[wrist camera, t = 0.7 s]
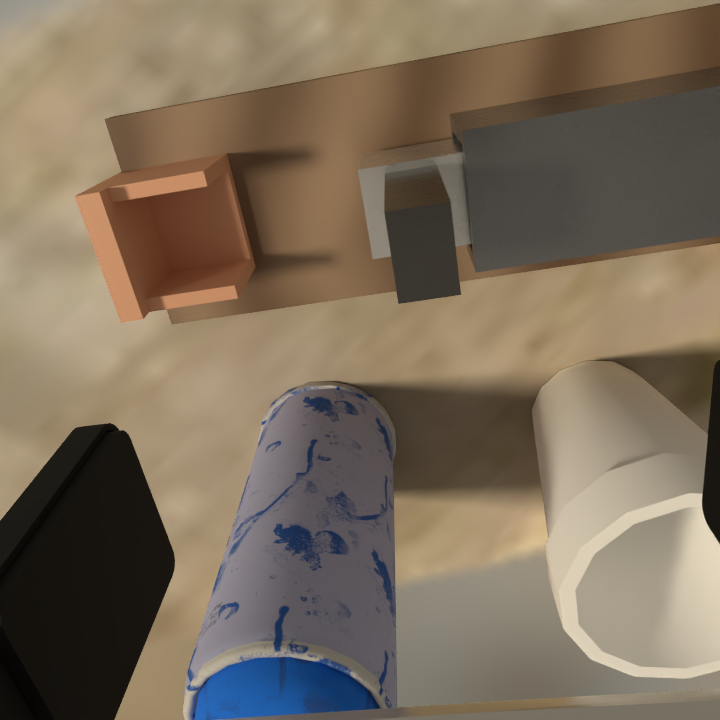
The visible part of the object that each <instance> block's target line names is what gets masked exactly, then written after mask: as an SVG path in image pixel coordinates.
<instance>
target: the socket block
mask: <svg viewBox="0 0 720 720" xmlns="http://www.w3.org/2000/svg"><path fill="white" fill-rule="evenodd" d="M75 198H76V201H77V203H78V206H79V209H80V212H81V214H82V217H83V220H84V223H85V225H86V228H87V231H88V234H89V236H90V239H91V242H92V244H93V247H94V250H95V253H96V255H97V258H98V261H99V264H100V266H101V269H102V272H103V275H104V277H105V280H106V283H107V286H108V288H109V291H110V294H111V296H112V299H113V302H114V305H115V307H116V310H117V313H118V316H119V318H120V321H121V322H127V321H133V320H140V319H144V318H145V316H146V315H147V314H148V313H149V312H151V311H158V310H165V309H171V308H178V307H184V306H191V305H198V304H204V303H211V302H217V301H224V300H231V299H237V298H239V296H240V294H241V292H242V290H243V289H244V287H245V285H246V283H247V282H248V280H249V278H250V276H251V274H252V273H253V271H254V269H255V267H256V266H255V262H254V258H253V254H252V250H251V246H250V242H249V238H248V234H247V231H246V227H245V223H244V219H243V215H242V211H241V207H240V203H239V199H238V195H237V191H236V187H235V183H234V179H233V175H232V171H231V168H230V164H229V160H228V156H227V153H226V154H220V155H214V156H209V157H203V158H197V159H192V160H186V161H180V162H175V163H169V164H163V165H158V166H152V167H146V168H141V169H135V170H129V171H124V172H121V173H119V174H117V175H115V176H113V177H111V178H109V179H107V180H105V181H103V182H101V183H99V184H98V185H96V186H94V187H92V188H90V189H88V190H86V191H84V192H82V193H80V194H78V195H77V196H75Z"/></svg>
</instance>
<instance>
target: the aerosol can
mask: <svg viewBox="0 0 720 720" xmlns="http://www.w3.org/2000/svg"><path fill="white" fill-rule="evenodd" d="M258 441H259V444H258V447H257V450H256V454H255V457H254V460H253V463H252V467H251V470H250V473H249V476H248V479H247V483H246V486H245V489H244V492H243V495H242V499H241V502H240V505H239V508H238V511H237V515H236V518H235V521H234V524H233V527H232V531H231V534H230V537H229V540H228V544H227V547H226V550H225V553H224V556H223V560H222V563H221V566H220V569H219V572H218V576H217V579H216V582H215V585H214V588H213V592H212V595H211V598H210V601H209V604H208V608H207V611H206V614H205V617H204V621H203V624H202V627H201V630H200V633H199V637H198V640H197V643H196V647H195V649H194V653H193V656H192V659H191V662H190V666H189V669H188V673H187V679H186V685H185V691H184V694H185V701H184V707H183V713H184V718H185V720H219V719H233V718H248V717H262V716H276V715H292V714H307V713H322V712H338V711H353V710H369V709H384V708H397V670H396V669H397V666H396V606H395V605H396V603H395V539H394V476H393V460H394V457H395V454H396V436H395V428H394V425H393V423H392V421H391V419H390V417H389V415H388V413H387V411H386V410H385V409H384V408H383V407H382V406H381V405H380V404H379V403H378V402H377V401H376V400H375V399H374V397H373V396H371V395H369V394H367V393H365V392H363V391H362V390H360V389H358V388H356V387H354V386H351V385H346V384H342V383H337V382H333V381H326V382H310V383H306V384H304V385H301V386H298V387H295V388H293V389H290V390H288V391H287V392H286V393H284V394H283V395H282V396H280V397H279V398H278V399H277V400H275V401H274V402H273V403H272V405H271V406H270V408H269V410H268V411H267V413H266V414H265V416H264V417H263V420H262V424H261V429H260V434H259V440H258Z"/></svg>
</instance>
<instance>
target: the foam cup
mask: <svg viewBox="0 0 720 720" xmlns="http://www.w3.org/2000/svg"><path fill="white" fill-rule="evenodd" d="M532 419H533V427H534V435H535V443H536V450H537V458H538V465H539V472H540V480H541V487H542V495H543V502H544V509H545V517H546V524H547V531H548V540H547V542H546V544H545V549H546V557H547V565H548V573H549V581H550V586H551V589H552V592H553V595H554V599H555V602H556V606H557V609H558V613H559V616H560V619H561V622H562V626H563V629H564V630H565V631H566V632H567V634H568V635H569V636H570V637H571V638H572V639H573V640H574V641H575V643H576V644H577V645H578V646H579V647H580V648H581V649H582V650H583V651H584V653H586V654H587V656H588V657H589V658H590V659H591V660H594V661H596V662H599V663H601V664H604V665H606V666H609V667H611V668H614V669H616V670H619V671H622V672H624V673H627V674H629V675H632V676H635V677H660V678H691V677H695V676H699V675H703V674H707V673H711V672H715V671H719V670H720V544H719V542H718V541H717V539H716V538H715V536H714V534H713V533H712V531H711V530H710V528H709V527H708V525H707V523H706V520H705V518H704V514H703V509H702V494H703V483H704V472H705V461H706V451H707V440H708V434H707V433H706V432H705V431H704V430H702V429H701V428H700V427H699V426H698V425H697V424H695V423H694V422H693V421H692V420H691V419H690V418H688V417H687V416H686V415H685V414H684V413H683V412H681V411H680V410H679V409H678V408H677V407H676V406H674V405H673V404H672V403H671V402H670V401H669V400H667V399H666V398H665V397H664V396H663V395H662V394H660V393H659V392H658V391H657V390H656V389H655V388H653V387H652V386H651V385H650V384H649V383H648V382H646V381H645V380H644V379H643V378H642V377H640V376H638V375H637V374H636V373H635V372H634V371H632V370H630V369H628V368H626V367H624V366H621V365H619V364H617V363H615V362H613V361H584V362H581V363H579V364H576V365H573V366H571V367H568V368H565V369H563V370H560V371H559V372H558V373H557V374H556V375H554V376H553V377H552V378H551V379H550V380H549V381H548V382H547V383H546V384H545V385H544V386H542V387H541V389H540V391H539V393H538V396H537V398H536V400H535V403H534V405H533V408H532Z"/></svg>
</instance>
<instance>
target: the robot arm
mask: <svg viewBox="0 0 720 720" xmlns="http://www.w3.org/2000/svg"><path fill="white" fill-rule="evenodd" d="M702 509H703V514H704V518H705V520H706V523H707V525H708V527H709V528H710V530H711V531H712V533H713V534H714V536H715V538H716V539H717V541H718V542H719V544H720V360H719V361H718V362H717V363H716V365H715V368H714V374H713V385H712V396H711V407H710V418H709V429H708V440H707V451H706V461H705V472H704V483H703V494H702ZM174 567H175V558H174V552H173V549H172V546H171V544H170V541H169V539H168V536H167V533H166V531H165V528H164V525H163V523H162V520H161V518H160V515H159V512H158V510H157V507H156V504H155V502H154V499H153V497H152V494H151V491H150V489H149V486H148V483H147V481H146V478H145V476H144V473H143V470H142V468H141V465H140V462H139V460H138V457H137V454H136V452H135V449H134V447H133V444H132V441H131V439H130V437H129V435H128V434H127V432H125V431H123V430H122V431H119V429H118V428H117V427H116V426H115V425H113V424H111V423H109V424H100V425H92V426H83V427H77V428H75V429H74V430H73V431H72V432H71V433H70V435H69V436H68V437H67V438H66V440H65V441H64V442H63V443H62V445H61V446H60V447H59V448H58V450H57V451H56V452H55V453H54V455H53V456H52V457H51V458H50V460H49V461H48V462H47V463H46V465H45V466H44V467H43V468H42V470H41V471H40V472H39V473H38V474H37V476H36V477H35V478H34V479H33V481H32V482H31V483H30V484H29V486H28V487H27V488H26V489H25V491H24V492H23V493H22V494H21V496H20V497H19V498H18V499H17V501H16V502H15V503H14V504H13V506H12V507H11V508H10V509H9V511H8V512H7V513H6V514H5V516H4V517H3V518H2V519H1V521H0V720H114V719H115V717H116V714H117V711H118V709H119V707H120V704H121V702H122V699H123V697H124V694H125V692H126V689H127V687H128V684H129V682H130V679H131V677H132V674H133V672H134V670H135V667H136V664H137V662H138V660H139V657H140V655H141V652H142V650H143V647H144V645H145V642H146V640H147V637H148V635H149V632H150V630H151V627H152V625H153V623H154V620H155V618H156V615H157V613H158V610H159V608H160V605H161V603H162V600H163V598H164V595H165V593H166V590H167V588H168V585H169V583H170V581H171V578H172V576H173V572H174ZM219 720H720V688H717V689H700V690H684V691H665V692H647V693H631V694H613V695H596V696H579V697H561V698H544V699H527V700H511V701H496V702H480V703H463V704H447V705H431V706H416V707H400V708H384V709H369V710H353V711H338V712H322V713H307V714H292V715H276V716H262V717H248V718H233V719H219Z"/></svg>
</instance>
